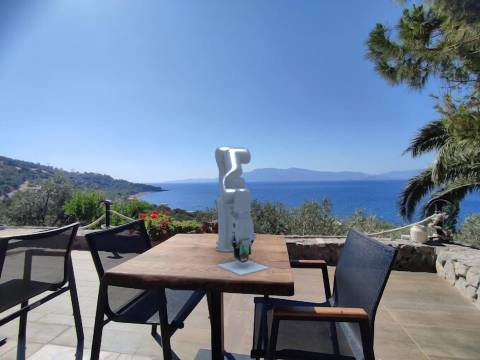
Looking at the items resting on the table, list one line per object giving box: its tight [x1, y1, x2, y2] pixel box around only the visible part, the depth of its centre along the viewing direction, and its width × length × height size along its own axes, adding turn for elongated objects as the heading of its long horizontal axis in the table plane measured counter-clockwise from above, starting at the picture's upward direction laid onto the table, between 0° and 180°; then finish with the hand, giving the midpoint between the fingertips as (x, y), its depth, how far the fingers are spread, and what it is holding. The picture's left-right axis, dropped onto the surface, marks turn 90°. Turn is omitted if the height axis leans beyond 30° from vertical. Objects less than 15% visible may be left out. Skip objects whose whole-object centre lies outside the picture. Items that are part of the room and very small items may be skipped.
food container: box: [233, 238, 251, 263], centre depth 128 cm, size 12×6×10 cm, turn 21°
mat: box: [216, 260, 270, 277], centre depth 127 cm, size 18×16×1 cm
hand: (242, 255), depth 127 cm, fingers closed on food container, 5 cm apart
